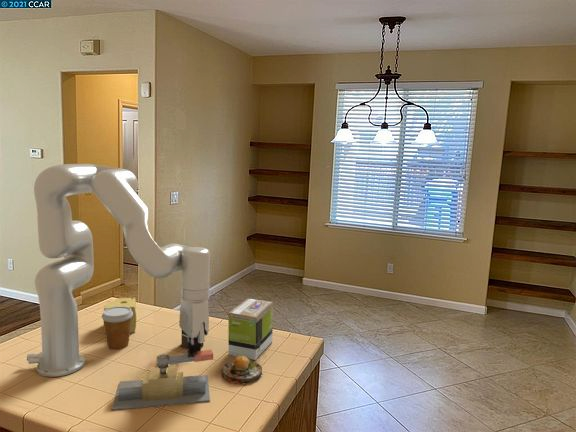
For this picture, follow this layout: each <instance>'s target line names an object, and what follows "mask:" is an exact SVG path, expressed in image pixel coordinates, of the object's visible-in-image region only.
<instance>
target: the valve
mask: <svg viewBox="0 0 576 432" xmlns="http://www.w3.org/2000/svg"><path fill="white" fill-rule="evenodd" d="M205 375H206V374H202V375H199V374H198V375H187V376H185V375H184V371H178V365H173V366H169V367H167V368H163V369H161V368H158V367H157V366H156V367H150V370H149V373H148V374H147V373H146V374H143V379H135V380H134V379H133V380H121V381H119V384H118V387H119V388H118V387H117V391H118V397H119V401H120V400H132V399H142V400H149V401H156V400H168V399H177V397H183V395H190V394H202V393H206V378H205Z"/></svg>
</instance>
